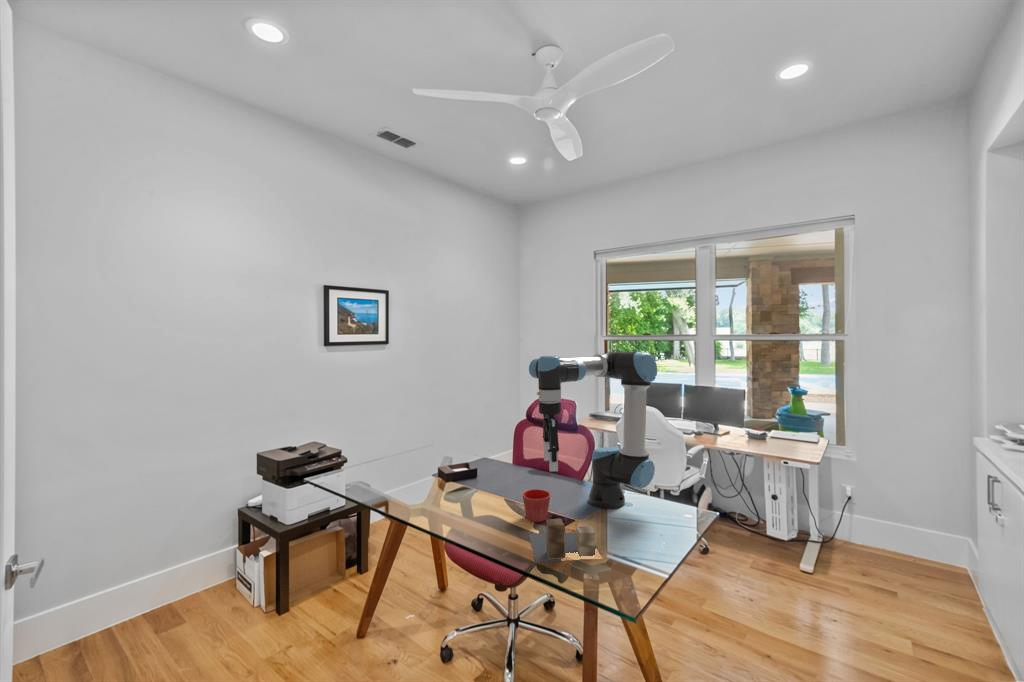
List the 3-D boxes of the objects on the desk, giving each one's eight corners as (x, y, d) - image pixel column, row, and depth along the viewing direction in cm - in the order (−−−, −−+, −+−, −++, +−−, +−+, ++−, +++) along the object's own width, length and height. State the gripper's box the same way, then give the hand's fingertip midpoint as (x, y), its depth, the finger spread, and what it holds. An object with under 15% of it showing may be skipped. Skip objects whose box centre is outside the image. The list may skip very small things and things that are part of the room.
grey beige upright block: (591, 549, 153) (590, 525, 153) (595, 556, 148) (594, 532, 148) (576, 550, 152) (576, 526, 152) (579, 557, 147) (579, 533, 147)
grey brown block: (561, 551, 152) (561, 518, 152) (564, 558, 147) (564, 524, 147) (546, 552, 152) (546, 519, 151) (549, 559, 147) (548, 525, 146)
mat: (588, 532, 166) (588, 531, 166) (603, 559, 147) (603, 558, 147) (528, 535, 165) (528, 534, 165) (536, 563, 145) (536, 562, 145)
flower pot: (549, 524, 174) (548, 499, 174) (520, 522, 176) (520, 497, 176) (552, 513, 184) (551, 489, 184) (525, 512, 186) (525, 488, 186)
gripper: (534, 396, 166) (535, 456, 166) (543, 407, 142) (545, 477, 143) (554, 396, 166) (555, 455, 167) (567, 407, 143) (568, 476, 143)
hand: (550, 465), depth 155 cm, fingers open, 11 cm apart
